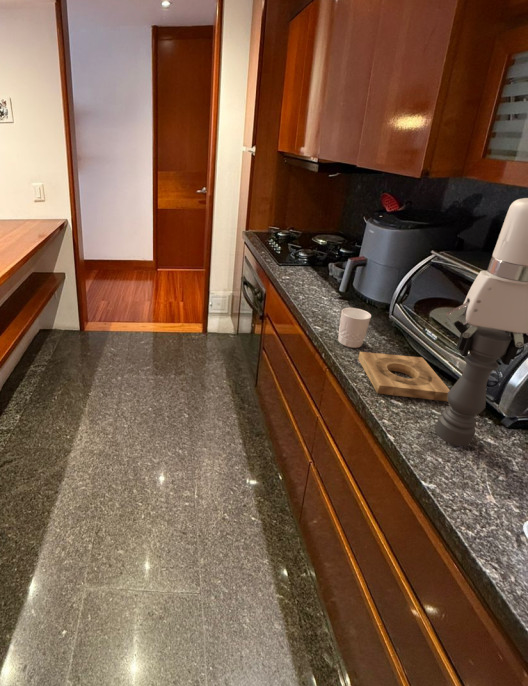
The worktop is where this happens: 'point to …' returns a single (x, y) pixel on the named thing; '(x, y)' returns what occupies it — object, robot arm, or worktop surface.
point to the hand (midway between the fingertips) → (482, 356)
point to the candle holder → (471, 387)
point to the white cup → (353, 327)
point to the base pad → (388, 383)
